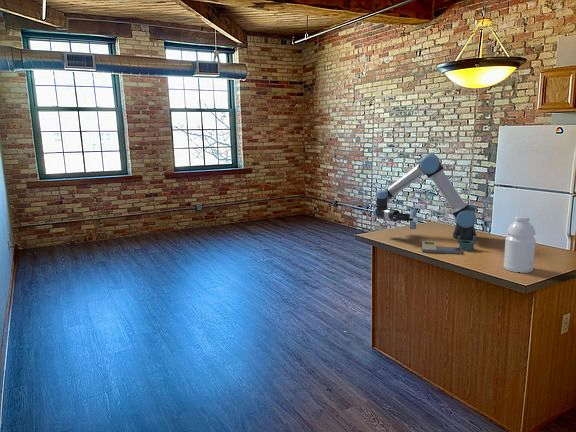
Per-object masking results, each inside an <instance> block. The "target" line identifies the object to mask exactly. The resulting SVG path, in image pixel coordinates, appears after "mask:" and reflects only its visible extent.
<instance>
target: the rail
mask: <svg viewBox="0 0 576 432" xmlns="http://www.w3.org/2000/svg"><path fill="white" fill-rule="evenodd" d="M421 245H422V246H421V251H422V252H421V253H425V254H427V253H428V254H445V255H446V254H448V255H462V251H461V249H460V248H459V247H454V246H453V247H452V246H437V241H425V240H424V241H422V244H421Z"/></svg>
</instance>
